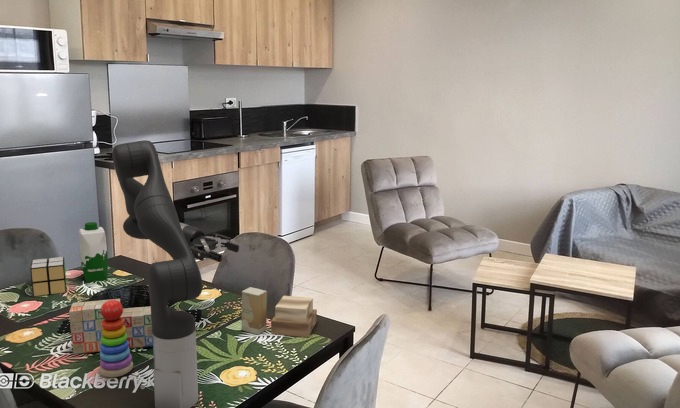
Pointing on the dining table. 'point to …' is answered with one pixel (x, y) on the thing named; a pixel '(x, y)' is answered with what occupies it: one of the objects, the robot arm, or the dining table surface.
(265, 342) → the dining table surface
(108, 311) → the stacking toy
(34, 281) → the puzzle cube
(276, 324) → the stepped wooden pedestal
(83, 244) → the milk carton
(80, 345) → the stack of blocks
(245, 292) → the skincare box
